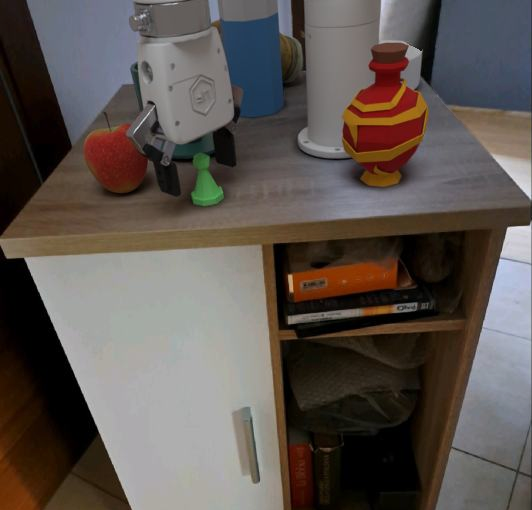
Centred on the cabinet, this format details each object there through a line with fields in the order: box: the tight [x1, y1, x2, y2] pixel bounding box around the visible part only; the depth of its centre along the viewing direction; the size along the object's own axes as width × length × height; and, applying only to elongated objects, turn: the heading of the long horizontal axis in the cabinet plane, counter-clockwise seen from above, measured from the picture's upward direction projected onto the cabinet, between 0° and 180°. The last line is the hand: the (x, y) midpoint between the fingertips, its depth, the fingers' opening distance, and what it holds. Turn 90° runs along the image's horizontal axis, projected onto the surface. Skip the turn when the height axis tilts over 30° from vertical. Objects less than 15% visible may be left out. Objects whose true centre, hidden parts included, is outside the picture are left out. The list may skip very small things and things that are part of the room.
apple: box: [82, 111, 149, 194], centre depth 66 cm, size 8×8×10 cm
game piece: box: [190, 153, 225, 207], centre depth 64 cm, size 4×4×6 cm
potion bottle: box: [342, 43, 430, 188], centre depth 61 cm, size 10×10×15 cm
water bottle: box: [216, 0, 285, 118], centre depth 81 cm, size 9×9×25 cm
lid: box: [160, 130, 217, 160], centre depth 76 cm, size 11×11×7 cm
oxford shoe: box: [211, 18, 304, 84], centre depth 98 cm, size 28×10×11 cm
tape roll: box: [379, 39, 423, 90], centre depth 90 cm, size 16×16×6 cm
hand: (199, 178), depth 64 cm, fingers open, 9 cm apart
